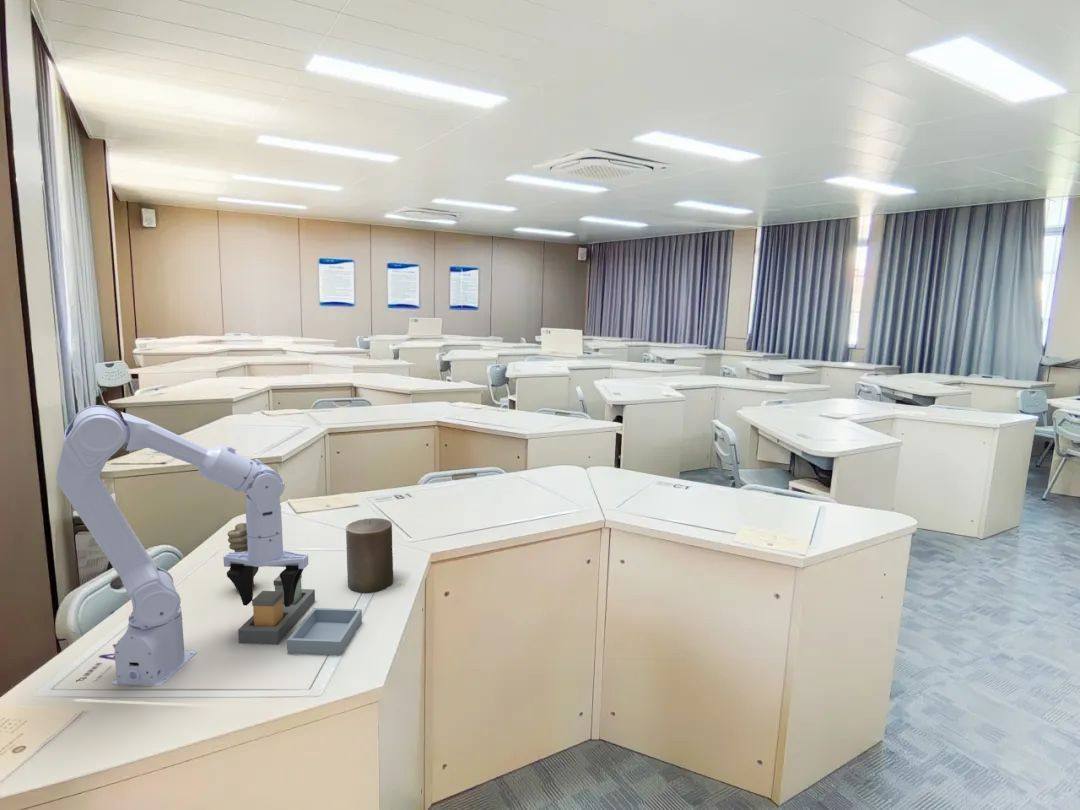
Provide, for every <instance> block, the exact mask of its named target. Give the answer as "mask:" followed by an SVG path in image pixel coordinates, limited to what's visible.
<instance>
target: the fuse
mask: <svg viewBox="0 0 1080 810" xmlns="http://www.w3.org/2000/svg"><path fill="white" fill-rule="evenodd" d="M302 574H303V572H302V573H301V576H300V578H299V581H298V583H297V587H296V591H295V595H294V602H293V603H292V604H291V605H296V604H297V603H298V602H299V601H300V600H301V598H302V589H303V588H302V578H303V576H302ZM273 586H274V591H283V597H282V599H283V604H284V590H283V585H282V581H281V578H280V574H279V575H278V576H277V577H276V578H274V579H273Z"/></svg>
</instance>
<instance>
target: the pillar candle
mask: <svg viewBox="0 0 1080 810" xmlns="http://www.w3.org/2000/svg"><path fill="white" fill-rule="evenodd" d="M392 525H393V524H392V521H391V520H388V519H385V518H379V517H378V518H377V517H376V518H375V517H372V518H371V517H370V518H364V519H363V518H362V519H359V520H354V521H352V522H350V523H349V524H347V525H346V527H345V535H346V537H345V538H346V539H345V540H346V543H345V544H346V571H347V572H346V573H347V587H348V590H350V591H351V592H354V593H358V594H373V593H378V592H381V591H384V590H386V589H387V588H389V587H391V586H392V585H393V584H394V559H393V558H394V557H393V526H392Z"/></svg>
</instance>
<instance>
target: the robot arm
mask: <svg viewBox="0 0 1080 810" xmlns="http://www.w3.org/2000/svg"><path fill="white" fill-rule="evenodd" d="M120 413H121V415H122V417H121V415H120V414H119V413H118V412H117V411H116V410H115V409H114V408H111V407H109V406H106V405H101V404H98V405H97V404H96V405H89V406H87V407H85V408H82V409H80V410H79V411H78V412H77V413H76V414H75V415H74V417H73V418H72V420H71V421H70V422H69V424H68V425H67V427H66V429H65V430H64V435H63V439H62V445H61V451H60V454H59V459H58V464H57V470H56V477H55V478H56V482H57V485H58V487H59V488H60V490H61V491H62V492H63V494H64V495H65V497H66V499H67V500H68V502H69V503H70V505H71V506H72V508H73V509H74V510H75V512H76V514H77V515H78V517H80V518H79V519H81V522H82V523H83V525H84V526H86V528H87V530H88V531H89V533H90V534H91V536H92V538H93V539H94V540H95V542H96V544H97V545H98V546H99V548H100V550H101V551H102V553H103V554H104V555H105V557H106V558H107V560H108V561H109V563H110V564H111V566H112V568H113V569H114V570H115V572H116V573H117V575H118V577H119V578H120V580H121V582H122V585H123V586H124V588H125V591H126V593H127V594H128V597H129V598H130V601H131V607H132V611H131V613H130V615H129V616H128V625H127V629H126V631H125V633H124V634H123V635H122V637H120V639H119V640H118V641H117V642H116V644H115V647H114V661H115V674H116V678H115V680H113V681H112V682H111V685H115V686H117V685H119V686H140V687H141V686H144V687H148V686H149V687H150V686H151V687H160V686H163V685H164V684H165V683H166V682H167V681H168V680H170V679H171V677H172V676H174V675H175V674H176V673H177V672H178V671H179V670H180V669H181V668H182V667H183V666H185V664H186V663H188V662H189V661H190V659H192V658H193V657H194V656H195V655H197V650H185V644H184V643H185V641H184V639H185V638H184V627H183V626H184V625H183V615H182V606H181V602H182V601H181V597H180V594H179V593H178V592H177V590H176V587H175V585H174V579H173V576H172V575H171V573H170V572H169V571H167V570H166V569H164V568H162V567H160V566H158V564H157V563H156V562H155V561H154V559H153V558H152V557H151V556H150V555H149V553H148V551H147V550H146V548H145V547H144V546H143V544H142V542H141V541H140V539H139V537H138V535H137V534H136V533H135V531H134V529H133V528H132V526H131V525H130V523H129V521H128V520H127V518H126V517H125V515H124V513H123V512H122V511H121V509H120V508H119V506H118V504H117V502H116V501H115V499H114V498H113V496H112V494H111V493H110V491H109V490H108V489H107V487H106V485H105V484H104V482H103V481H102V479H101V477H100V475H101V474H102V472H103V469H104V467H105V465H106V463H107V461H108V460H109V459H110V458H111V457H112V456H113V455H115V453H117V452H118V451H119V450H120V448H122V446H123V445H124V447H125V450H126V451H127V452H130V451H135V450H140V449H150V450H153V451H156V452H158V453H161V454H164V455H167V456H169V457H172V458H173V459H177V460H179V461H183V462H185V463H188V464H190V465H193V466H196V467H197V470H198V473H199V476H200V477H201V478H203V479H206V480H208V481H211V482H213V483H216V484H218V485H221V486H222V487H226V488H228V489H231V490H234V491H236V492H243V493H244V494H245V507H246V508H245V523H246V526H247V544H248V551H246V552H235V551H233V552H228V553H227V554H225V555H224V556H223V567H224V568H225V567H226V568H229V570H227V572H226V577H227V578H228V579H229V580H230V581H231V583H232V584H233V585H234V587H235V588H236V590H237V592H238V595H239V597H240V599H241V602H242V606H248V605H249V604H250V603H252V600H253V599H254V598H253V596H254V589H253V588H254V587H252V576H253V567H254V566H255V567H259V568H262V567H263V568H264V567H274V568H275V567H276V568H279V567H281V568H284V569H283V570H282V571H281V572H280V573H279V575H280V578H281V581H282V585H283V590H284V604H285V607H289V606H290V605H291V604H292V603H293V602H294V595H295V591H296V587H297V583H298V581H299V578H300V576H301V573H302V574H303V571H304V569H305V568H307V567H308V565H309V554H306V553H305V554H303V553H302V554H301V553H297V552H292V551H287V550H284V544H283V543H284V542H283V520H282V518H283V517H282V506H281V496H282V495H283V493H284V490H285V488H286V486H285V485H286V484H285V483H284V481H283V478H282V476H281V475H280V474H279V473H278V472H277V471H276V470H274V469H273V468H272V467H271V466H268V465H267V464H266V463H264V462H262V461H261V460H259V459H257V458H254V459H250V458H248V457H246V456H243V455H242V454H239V453H237V452H236V451H237V449H235V448H234V447H233V446H230V445H227V446H226V447H224V446H222V445H216V446H213V447H209V448H206V447H205V446H204V447H203V446H201V445H200V444H198V443H195V442H194V441H191V440H189V439H187V438H185V437H182V436H180V435H178V434H176V433H174V432H172V431H170V430H168V429H166V428H164V427H162V426H160V425H158V424H156V423H154V422H151V421H149V420H146V419H143V418H141V417H138V416H135V415H132V414H130V413H126V412H122V411H120Z"/></svg>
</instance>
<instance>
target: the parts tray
mask: <svg viewBox="0 0 1080 810" xmlns="http://www.w3.org/2000/svg"><path fill="white" fill-rule="evenodd" d="M362 611H363V609H359V608H358V609H355V608H353V609H352V608H329V607H328V608H327V607H325V608H323V607H313V608H312V609H311V611H310V612H309V613H308V614H307V615H306V617H304V619H303V620H302V621H301V623H300V624H298V625H297V627H296V628H295V629H294V631H293V632H292V634H290V635H289V637H287V639H286V646H287V647H286V648H287V651H286V652H287V654H288V655H290V654H291V655H311V656H312V655H314V656H315V655H316V656H317V655H318V656H342V655H343V652H344V651H345V649H346V648H347V647H348V644H349V643H350V641H351V640H352V638H353V637H354V635H355V634H356V632H357V631H358V629H359V627H360V626H361V625H362V623H363V612H362Z"/></svg>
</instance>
